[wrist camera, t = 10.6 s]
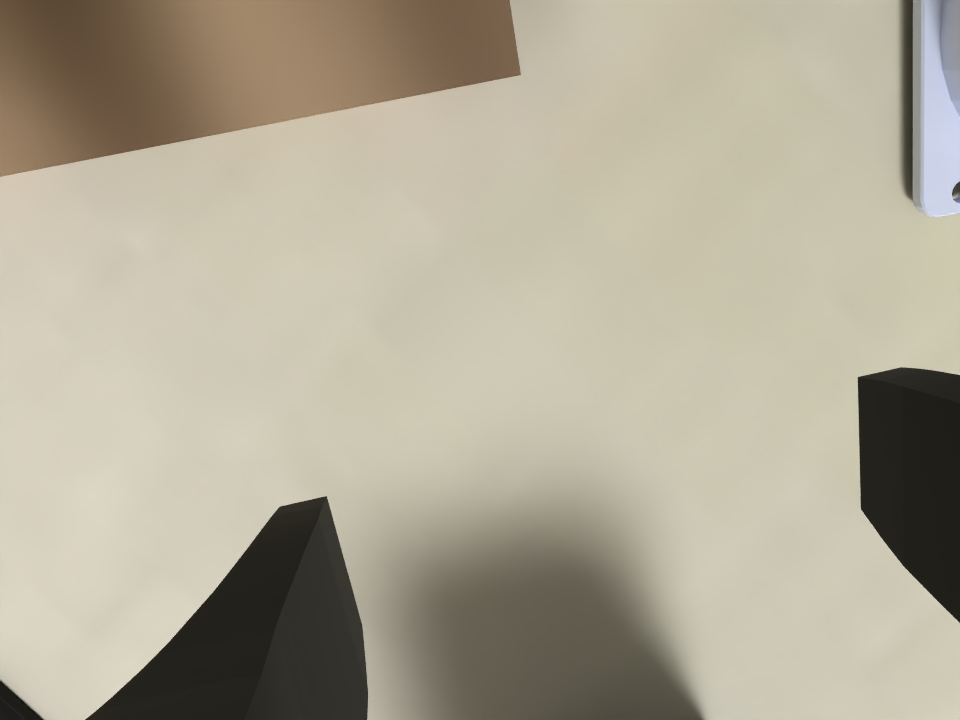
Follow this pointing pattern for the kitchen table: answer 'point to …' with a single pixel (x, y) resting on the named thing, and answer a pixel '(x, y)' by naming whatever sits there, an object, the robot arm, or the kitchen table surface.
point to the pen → (14, 707)
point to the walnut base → (223, 66)
